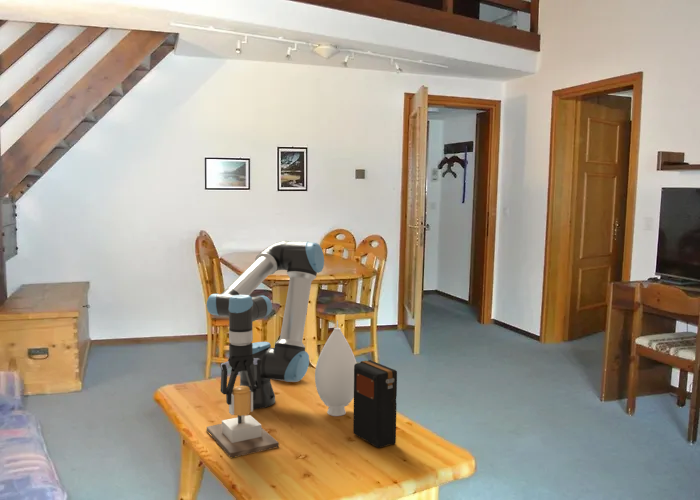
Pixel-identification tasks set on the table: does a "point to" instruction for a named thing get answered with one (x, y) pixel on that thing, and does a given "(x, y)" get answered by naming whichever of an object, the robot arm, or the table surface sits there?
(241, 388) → the orange acorn nut
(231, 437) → the box
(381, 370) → the black upright block
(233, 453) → the mounting board
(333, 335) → the lamp
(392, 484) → the table surface
